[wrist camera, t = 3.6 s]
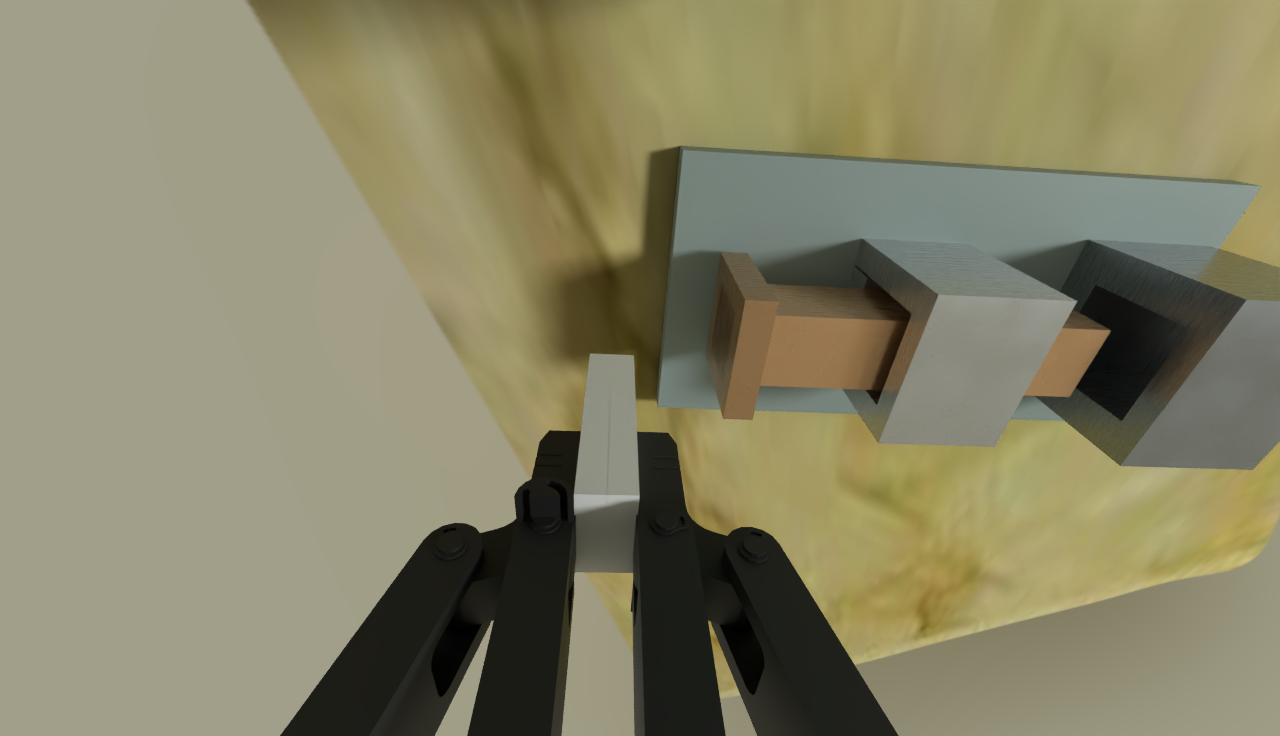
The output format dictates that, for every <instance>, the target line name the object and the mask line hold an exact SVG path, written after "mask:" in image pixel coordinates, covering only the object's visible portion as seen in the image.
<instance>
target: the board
mask: <svg viewBox="0 0 1280 736" xmlns="http://www.w3.org/2000/svg"><path fill="white" fill-rule="evenodd" d="M1261 187H1262V186H1258V185H1253V184H1248V183H1243V182H1238V181H1231V180H1215V179H1199V178H1183V177H1167V176H1151V175H1135V174H1119V173H1103V172H1087V171H1071V170H1056V169H1040V168H1024V167H1008V166H992V165H976V164H960V163H944V162H928V161H912V160H896V159H880V158H865V157H849V156H833V155H817V154H801V153H785V152H769V151H753V150H737V149H721V148H705V147H689V146H680V154H679V164H678V175H677V185H676V196H675V206H674V217H673V227H672V238H671V248H670V258H669V269H668V279H667V290H666V300H665V311H664V321H663V332H662V342H661V353H660V363H659V374H658V384H657V405H658V407H667V408H697V409H720V405H719V402H718V398H717V395H716V391H715V387H714V384H713V380H712V377H711V373H710V369H709V366H708V362H707V359H706V355H705V353H706V346H707V340H708V333H709V326H710V320H711V313H712V306H713V300H714V293H715V286H716V280H717V273H718V266H719V260H720V253H721V252H735V253H748V254H749V256H750V258H751V259H752V261H753V262H754V264H755V265H756V267H757V268H758V270H759V271H760V273H761V274H762V276H763V278H764V279H765V281H766V282H767V284H778V285H799V286H820V287H840V288H847V287H848V284H849V280H850V277H851V274H852V270H853V267H854V266H857V265H855V260H856V257H857V254H858V250H859V247H860V244H861V240H862V238H868V239H886V240H905V241H923V242H942V243H961V244H970V245H971V246H973V247H975V248H977V249H979V250H981V251H983V252H985V253H987V254H989V255H990V256H992V257H994V258H996V259H998V260H1000V261H1002V262H1004V263H1006V264H1008V265H1009V266H1011V267H1013V268H1015V269H1017V270H1019V271H1021V272H1023V273H1025V274H1026V275H1028V276H1030V277H1032V278H1034V279H1036V280H1038V281H1040V282H1042V283H1044V284H1045V285H1047V286H1049V287H1051V288H1053V289H1055V290H1057V291H1059V292H1060V290H1061V289H1062V287H1063V285H1064V283H1065V281H1066V279H1067V277H1068V276H1069V274H1070V272H1071V270H1072V268H1073V266H1074V265H1075V263H1076V261H1077V259H1078V257H1079V255H1080V253H1081V252H1082V250H1083V248H1084V246H1085V244H1086V242H1087V241H1088V239H1090V240H1108V241H1127V242H1145V243H1163V244H1181V245H1200V246H1212V247H1215V248H1218V249H1219V248H1220V247H1221V245H1222V244H1223V242H1224V241H1225V239H1226V238H1227V236H1228V235H1229V233H1230V232H1231V231H1232V229H1233V228H1234V226H1235V225H1236V223H1237V222H1238V220H1239V219H1240V218H1241V216H1242V215H1243V213H1244V212H1245V210H1246V209H1247V207H1248V206H1249V204H1250V203H1251V202H1252V200H1253V199H1254V197H1255V196H1256V194H1257V193H1258V191H1259V190H1260V188H1261ZM755 410H757V411H787V412H817V413H846V414H858V412H857V411H856V409H855V408H854V406H853V405H852V403H851V402H850V400H849V399H848V397H847V396H846V394H845V393H844V391H843V390H842V389H834V388H807V387H779V386H760V389H759V393H758V397H757V402H756V406H755ZM1011 419H1025V420H1055V421H1064V420H1063V419H1062V418H1061V417H1060V416H1058V415H1057V414H1056V413H1055V412H1053V411H1052V410H1051V409H1050V408H1048V407H1047V406H1046V405H1045V404H1044V403H1042V402H1041V401H1040V400H1039V399H1037V398H1036V397H1035V396H1027V395H1024V396H1023V398H1022V399H1021V401H1020V403H1019V405H1018V407H1017V408H1016V410H1015V412H1014V414H1013V415H1012V417H1011Z"/></svg>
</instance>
